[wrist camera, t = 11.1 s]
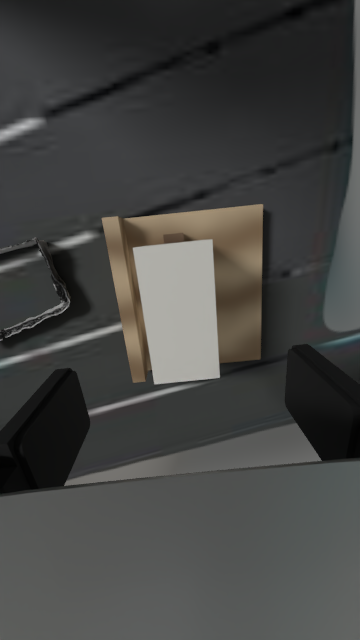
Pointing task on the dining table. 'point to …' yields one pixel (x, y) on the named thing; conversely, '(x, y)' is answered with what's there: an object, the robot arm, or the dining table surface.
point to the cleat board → (229, 273)
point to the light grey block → (179, 309)
